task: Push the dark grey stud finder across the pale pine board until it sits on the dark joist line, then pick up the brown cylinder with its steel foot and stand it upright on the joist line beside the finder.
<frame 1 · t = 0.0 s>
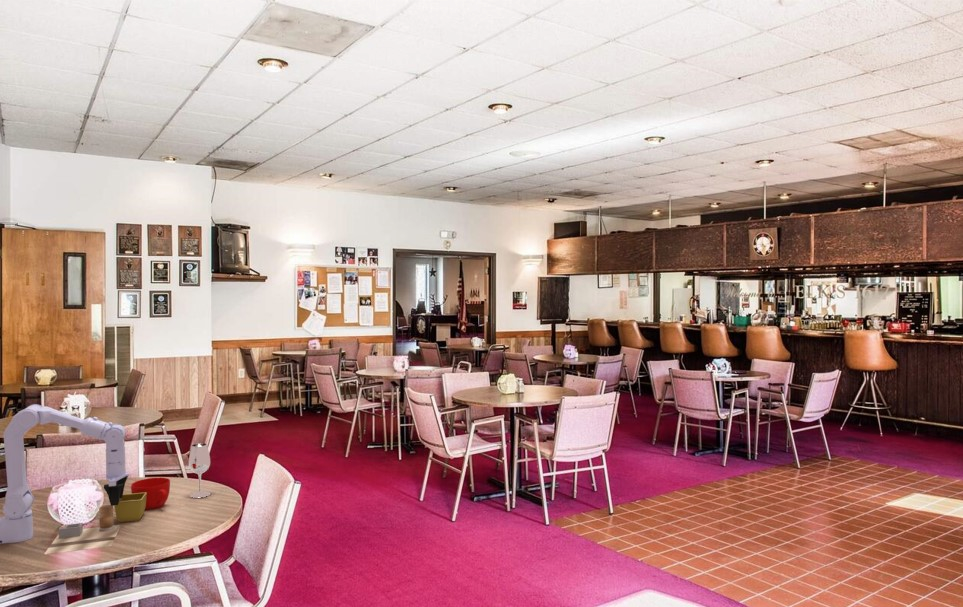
hand: (116, 501, 225), 10 cm above the table, tool pointing down, fingers open, 7 cm apart
brown cylinder: (106, 529, 223), point 1 cm above the table, touching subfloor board
stud finder: (70, 535, 218), point 1 cm above the table, touching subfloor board
ceramic cup: (153, 510, 246), on the table
flower pot: (131, 523, 234), on the table
wineglass: (200, 495, 264), on the table
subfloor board: (85, 543, 215), on the table
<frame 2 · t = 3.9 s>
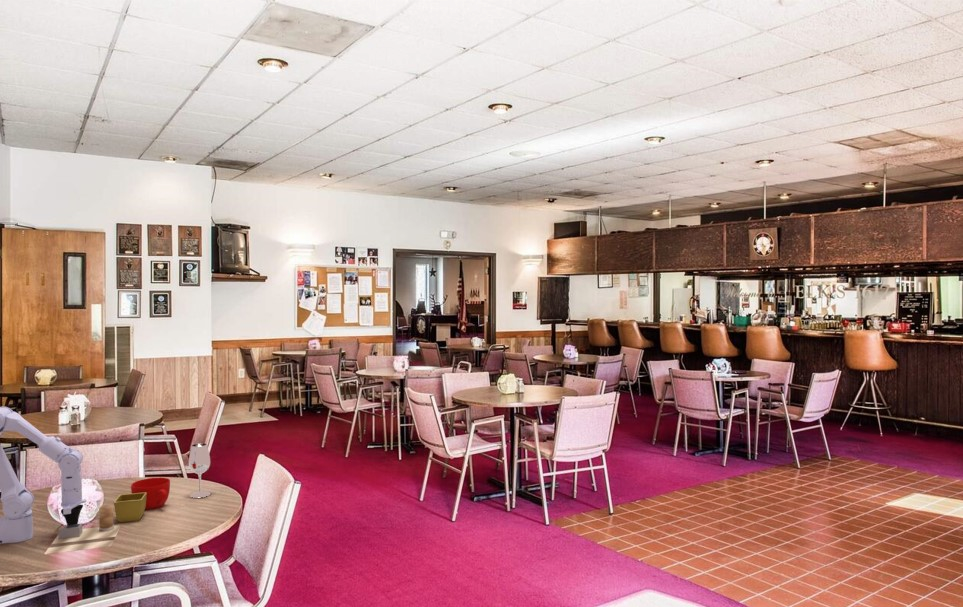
hand: (72, 529, 221), 3 cm above the table, tool pointing down, fingers closed
stud finder: (70, 535, 218), point 1 cm above the table, touching gripper, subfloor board
everything else where it was.
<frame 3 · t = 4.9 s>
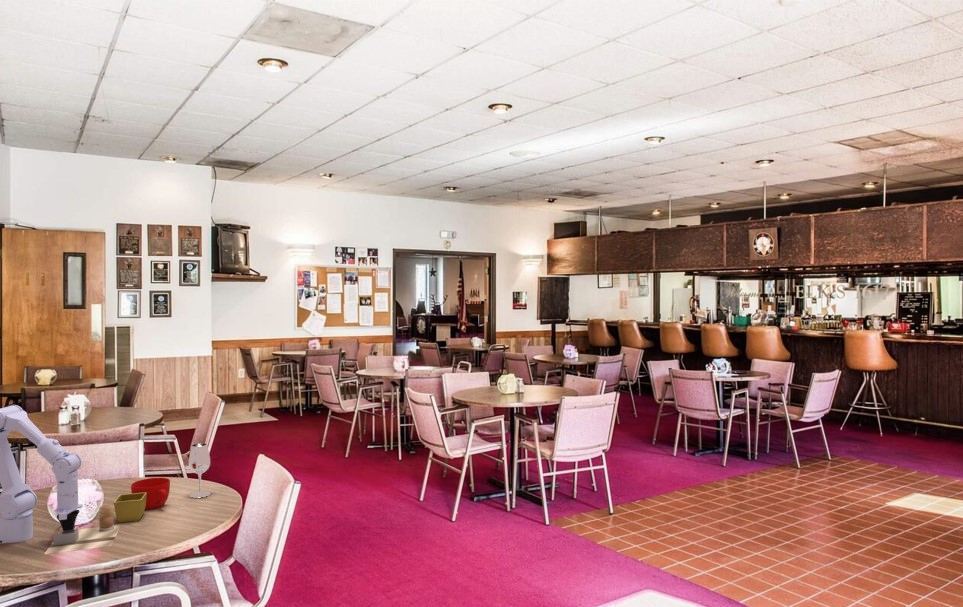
hand: (68, 534, 215), 3 cm above the table, tool pointing down, fingers closed
stud finder: (66, 541, 213), point 2 cm above the table, touching gripper, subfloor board
everything else where it was.
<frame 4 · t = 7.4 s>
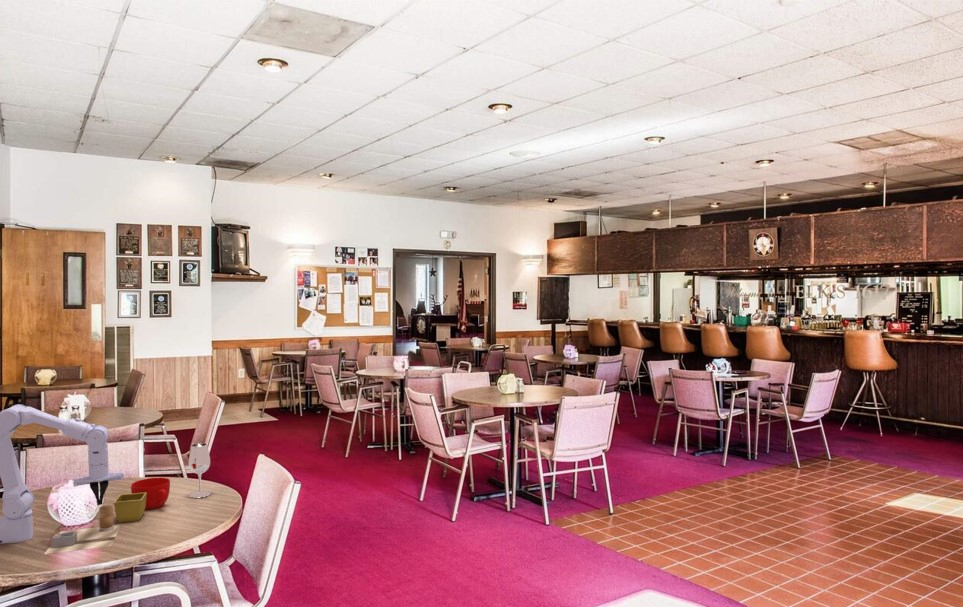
hand: (99, 504, 222), 10 cm above the table, tool pointing down, fingers closed
stud finder: (64, 544, 210), point 1 cm above the table, touching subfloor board
everything else where it was.
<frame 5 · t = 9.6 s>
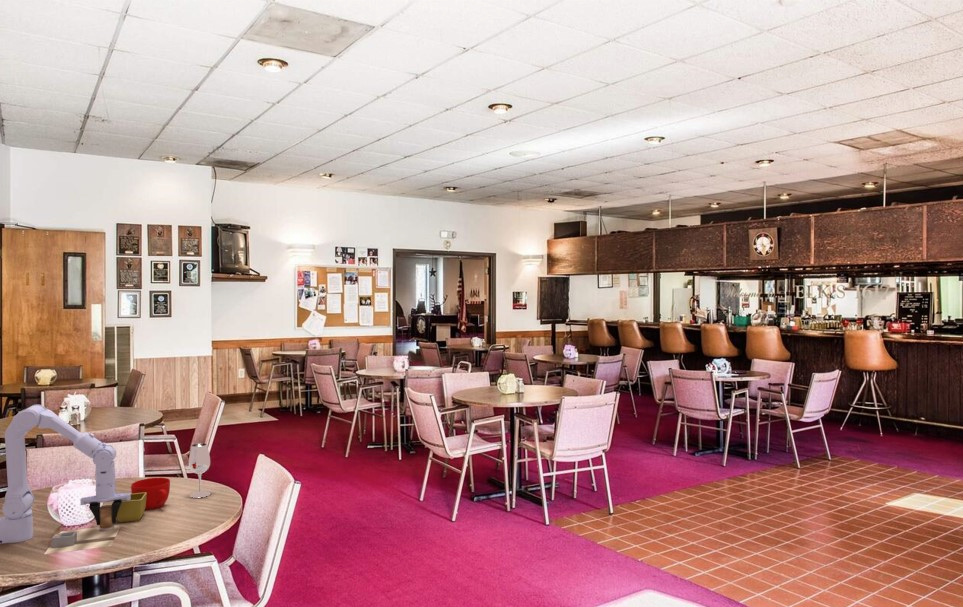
hand: (106, 523, 223), 3 cm above the table, tool pointing down, fingers closed on brown cylinder, 4 cm apart
brown cylinder: (106, 529, 223), point 1 cm above the table, touching gripper, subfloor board
everything else where it was.
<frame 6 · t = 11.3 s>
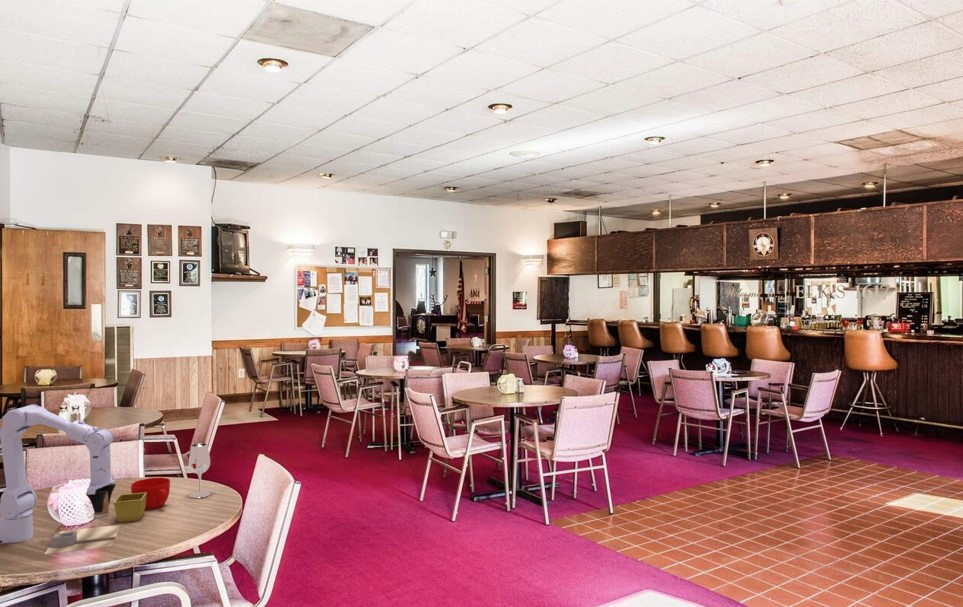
hand: (101, 509, 216), 10 cm above the table, tool pointing down, fingers closed on brown cylinder, 4 cm apart
brown cylinder: (101, 515, 216), point 9 cm above the table, touching gripper
everything else where it was.
when the fingers open (4 cm above the table, at t = 13.0 s): brown cylinder stays where it is, resting on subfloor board.
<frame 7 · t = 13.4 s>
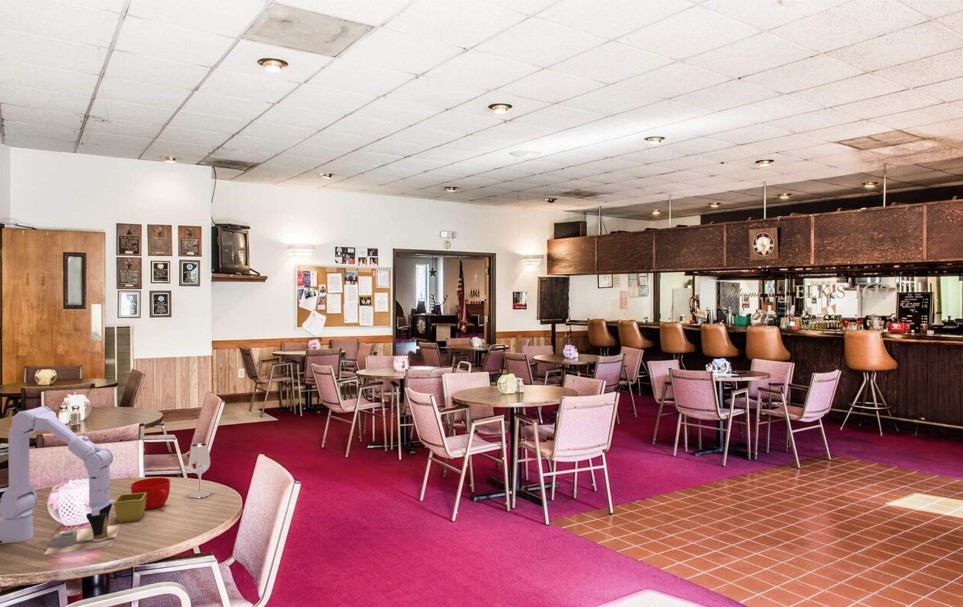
hand: (100, 530, 214), 4 cm above the table, tool pointing down, fingers open, 7 cm apart
brown cylinder: (100, 539, 214), point 1 cm above the table, touching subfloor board
everything else where it was.
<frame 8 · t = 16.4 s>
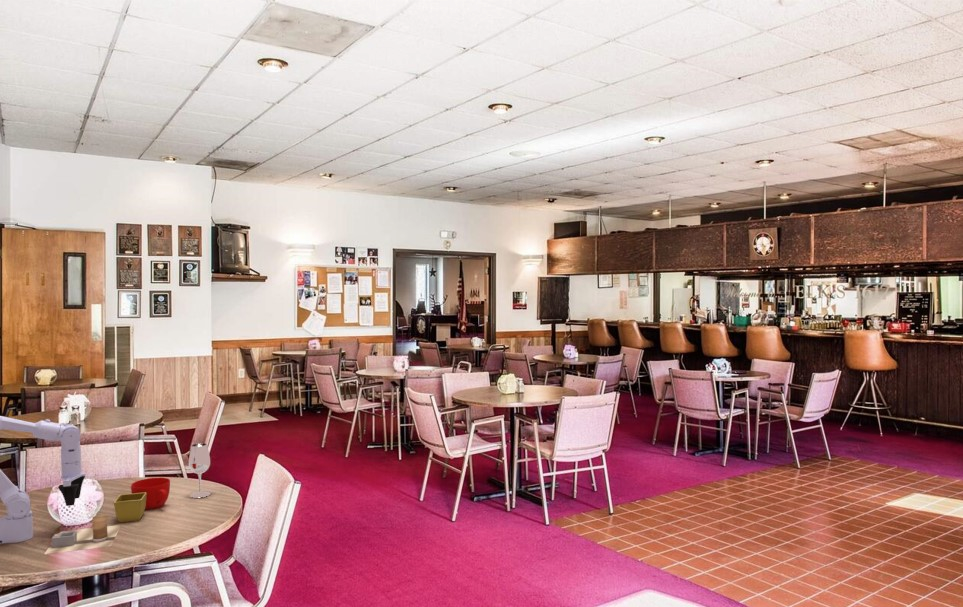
hand: (73, 501, 224), 10 cm above the table, tool pointing down, fingers open, 7 cm apart
nothing on the table moved.
at the end: stud finder 0.3 cm from the target spot, point 1.5 cm above the table; brown cylinder 0.1 cm from the target spot, point 1.5 cm above the table; brown cylinder tilted 0° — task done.
